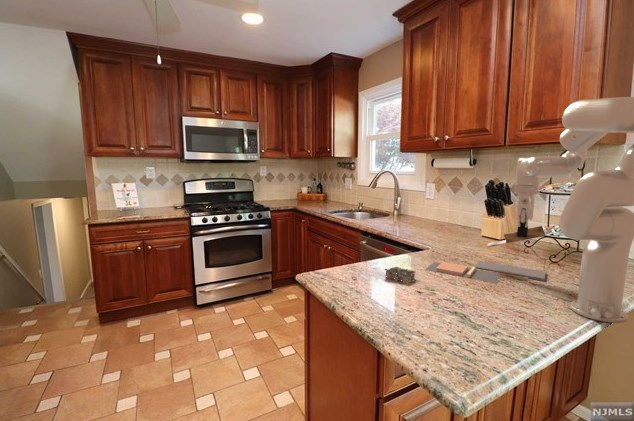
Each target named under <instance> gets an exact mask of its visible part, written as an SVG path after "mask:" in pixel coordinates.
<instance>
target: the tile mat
mask: <svg viewBox="0 0 634 421" xmlns="http://www.w3.org/2000/svg"><path fill="white" fill-rule="evenodd" d="M441 263H442V262H438V261H433V262H432V263H431V264H430V265H429V266H428V267H426V268H425V269H424V271H429V272H433V273H440V274H444V275H449V276H450V275H451V276H455V277H460V278H463V279H464V278H465V279H470V280H475V281H481V282H487V283H491V284H497V282H498V280H499V278H500V276H501V274H502V273H500V272H495V271H489V270H483V269H477V268H476V267H474V266H471V267H472V268H470V267H468V269H467V270H466V272H465V273H464V274H463V275H462V276H461V275H456V274H450V273H445V272H440V271H436V268H437V267H438V266H439V265H440V264H441Z"/></svg>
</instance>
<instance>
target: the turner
mask: <svg viewBox="0 0 634 421" xmlns="http://www.w3.org/2000/svg"><path fill="white" fill-rule="evenodd" d="M544 230H545V229H544V227H543V225H541V226H535V227H530V228H529V227H528V230H527V237H526V238H524V237H517V231H518V230H516V231H511V232H505V233H504V234H503V236H504V240H499V241H494V242H493V241H492V242H489V243H488V244H487V245H486V248H491V247H498V246H503V245H507V244H510V243H515V242H520V241H525V240H531V239H536V238H537V239H538V238H542V237H546V232H545V231H544Z"/></svg>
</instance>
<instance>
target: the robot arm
mask: <svg viewBox="0 0 634 421" xmlns="http://www.w3.org/2000/svg"><path fill="white" fill-rule="evenodd" d="M561 123H562V124H561V125H563V127H564V128H565V130H564V131H562V132H561V134H560V136H559V143H560V144H561V146H562V148H564V149H565V150H566V152H565V153H563V154H562V155H558V156H557V155H553V156H547V155H546V156H531V157H520V158H518V160H517V162H516V171H515V172H516V173H515V184H514V185H515V186H514V194H517V203H516V219H518V226H517V230H516V231H517V237H524V238H526V237H527V230H528V229H529V225H528V224H529V221H532V220H533V219H534V218H533V217H534V207H535V195H539V188H540V187H539V185H540V178H541V179H542V178H543V179H544V178H563V177H565V176H568V175H569V174H571V173H573V172H575V171H576V170H577V169H579V168H580V167H581V166H582V165H584V163H585V161H586V158H587V156H588V149H589V148H590V147H592V146H593V145H595V144H596V143H597V142H598V141H600V140H601V139H602V138H603V137H605V136H606V135H608V134H634V96H621V97H619V96H618V97H605V98H591V99H584V98H583V99H579V100H577V101H574V102H572V103H571V104H569V106H568V107H567V108H566V109H565V110H564V111H563V114H562V117H561ZM626 207H634V143H633V144H632V145H630V146H629V148H628V149H626V151H625V152H624V153H623V156H622V157H621V160H620V162H619V163H618V165H617V166H616V167H615V168H614V169H609V170H607V169H604V170H603V169H602V170H594V171H591V172H587V173H585V174H584V175H582V177H580V179H579V180H577V182H576V183H575V185H574V187H573V189H572V191H571V193H570V195H569V198H568V200H567V202H566V204H565V206H564V207H563V210H562V212H561V214H560V217H559V229H560V231H561V233H562V234H563V235H564V237H566V238H568V239H571V240H575V241H587V243H586V244H585V246H584V247H583V250H582V256H581V263H580V264H581V265H580V273H579V283H578V291H577V292H578V293H577V299H576V300H573V301H571V302H570V303H569V308H570V309H571V310H572V311H573V312H574V313H576V314H578V315H580V316H583V317H585V318H588V319H591V320H595V321H599V322H603V323H610V324H611V323H612V324H622V323H623V324H624V323H625V322H626V323H627V322H628V320H629V314H627V313H626V312H625V311H624V310H622V306H623V299H624V293H625V286H626V284H625V283H626V277H627V271H628V270H627V268H628V263H629V257H630V251H631V247H632V244H633V242H634V212H633V211H632V210H631V209H629V208H626Z"/></svg>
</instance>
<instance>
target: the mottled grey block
mask: <svg viewBox="0 0 634 421" xmlns="http://www.w3.org/2000/svg"><path fill="white" fill-rule="evenodd" d="M384 271H385V277H386V276H387V277H386V279H387V278H395V280H402V281H401V282H411V283H412V281H414V280H415V277H416V271H417V270H410V269H407V268H406V269H405V268H401V267H399V266H394V267H390V268H384ZM396 273H397V274H396ZM397 275H398V276H397ZM395 280H394V281H395Z"/></svg>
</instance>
